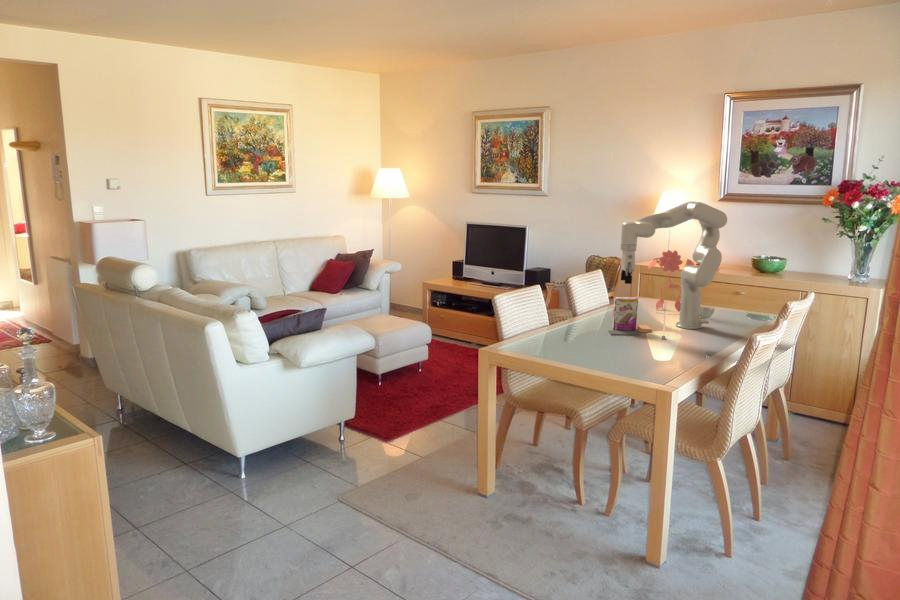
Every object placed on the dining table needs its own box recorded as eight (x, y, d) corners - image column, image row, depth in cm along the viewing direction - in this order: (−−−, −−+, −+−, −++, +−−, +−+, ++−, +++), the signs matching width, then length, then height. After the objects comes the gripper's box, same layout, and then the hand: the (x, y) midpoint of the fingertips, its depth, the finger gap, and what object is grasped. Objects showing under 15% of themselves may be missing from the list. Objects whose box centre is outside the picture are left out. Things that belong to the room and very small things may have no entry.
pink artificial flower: (648, 306, 386) (651, 247, 378) (693, 311, 372) (698, 250, 364) (639, 311, 373) (643, 250, 365) (686, 317, 359) (691, 254, 351)
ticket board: (647, 328, 334) (647, 324, 334) (651, 332, 327) (651, 328, 326) (635, 328, 335) (635, 324, 334) (639, 331, 327) (639, 328, 327)
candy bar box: (613, 330, 329) (615, 298, 326) (612, 328, 334) (613, 296, 331) (636, 331, 328) (638, 299, 325) (634, 328, 333) (636, 297, 330)
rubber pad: (636, 331, 327) (637, 330, 327) (640, 335, 320) (640, 334, 320) (608, 331, 328) (608, 330, 328) (610, 335, 321) (611, 333, 321)
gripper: (640, 249, 314) (637, 285, 318) (632, 245, 331) (630, 279, 334) (624, 249, 315) (621, 284, 318) (617, 245, 331) (615, 278, 335)
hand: (626, 281), depth 326 cm, fingers open, 9 cm apart
